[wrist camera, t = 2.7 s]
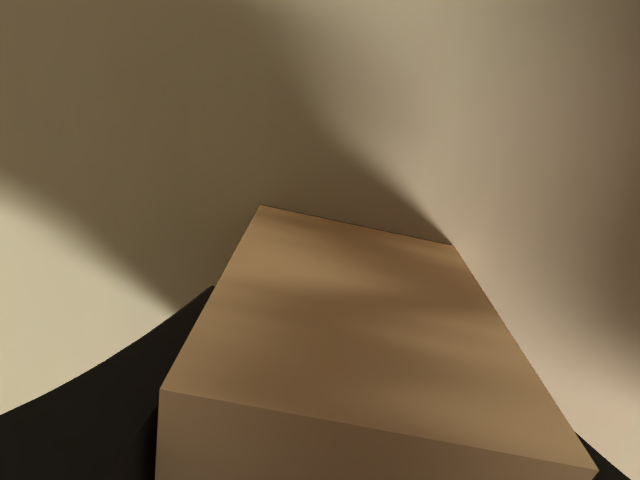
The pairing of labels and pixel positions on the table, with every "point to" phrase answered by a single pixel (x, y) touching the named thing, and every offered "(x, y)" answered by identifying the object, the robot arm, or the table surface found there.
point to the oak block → (355, 368)
